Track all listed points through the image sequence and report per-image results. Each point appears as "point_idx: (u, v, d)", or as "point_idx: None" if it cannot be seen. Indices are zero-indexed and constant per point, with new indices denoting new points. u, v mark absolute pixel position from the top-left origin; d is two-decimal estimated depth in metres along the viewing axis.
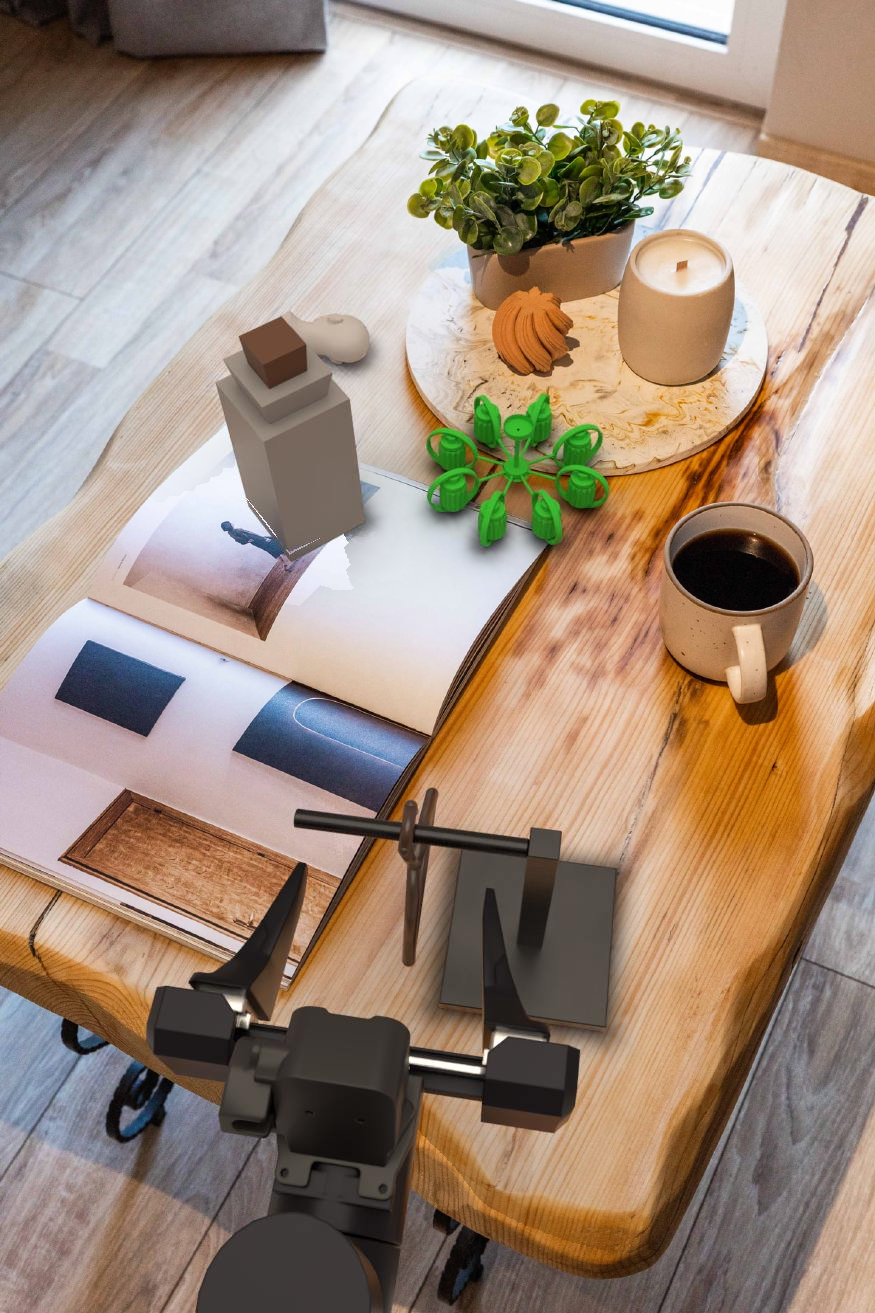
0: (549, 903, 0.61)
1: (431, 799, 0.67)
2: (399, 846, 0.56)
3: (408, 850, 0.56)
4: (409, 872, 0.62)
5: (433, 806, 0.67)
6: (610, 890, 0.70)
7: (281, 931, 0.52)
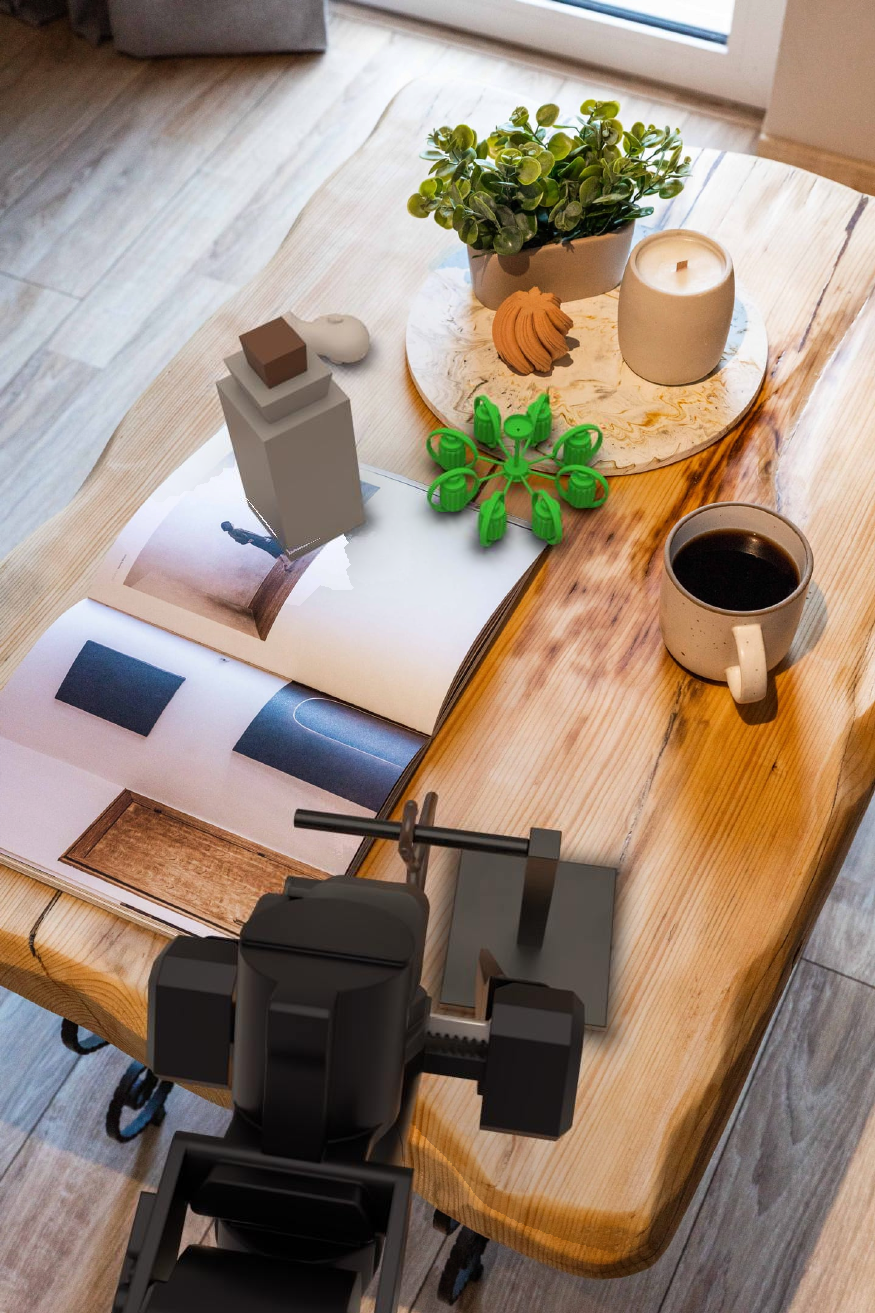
0: (549, 903, 0.61)
1: (431, 803, 0.67)
2: (399, 846, 0.56)
3: (408, 850, 0.56)
4: (409, 874, 0.62)
5: (432, 809, 0.67)
6: (610, 890, 0.70)
7: None
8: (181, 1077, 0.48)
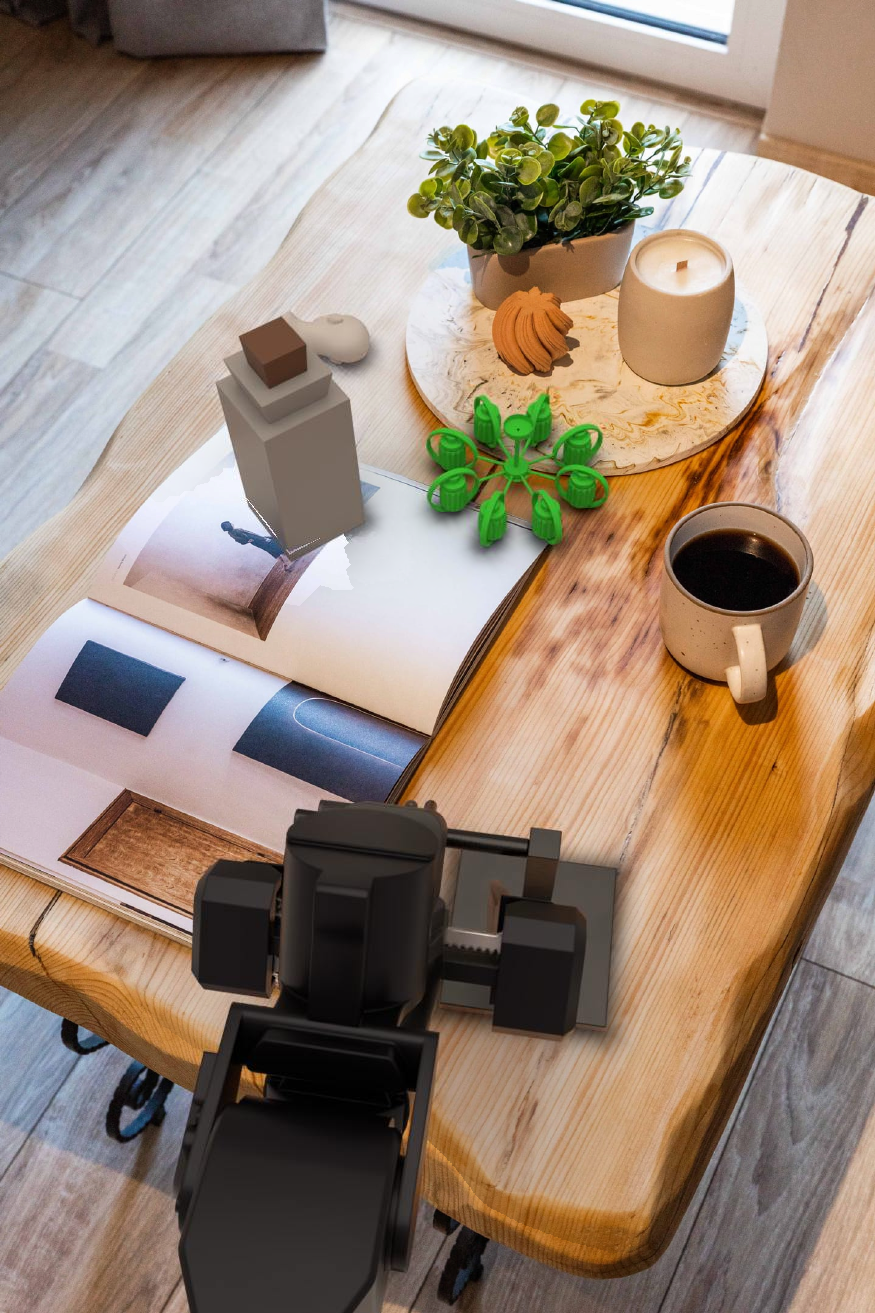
0: None
1: None
2: None
3: None
4: None
5: None
6: (610, 890, 0.70)
7: None
8: (223, 985, 0.53)
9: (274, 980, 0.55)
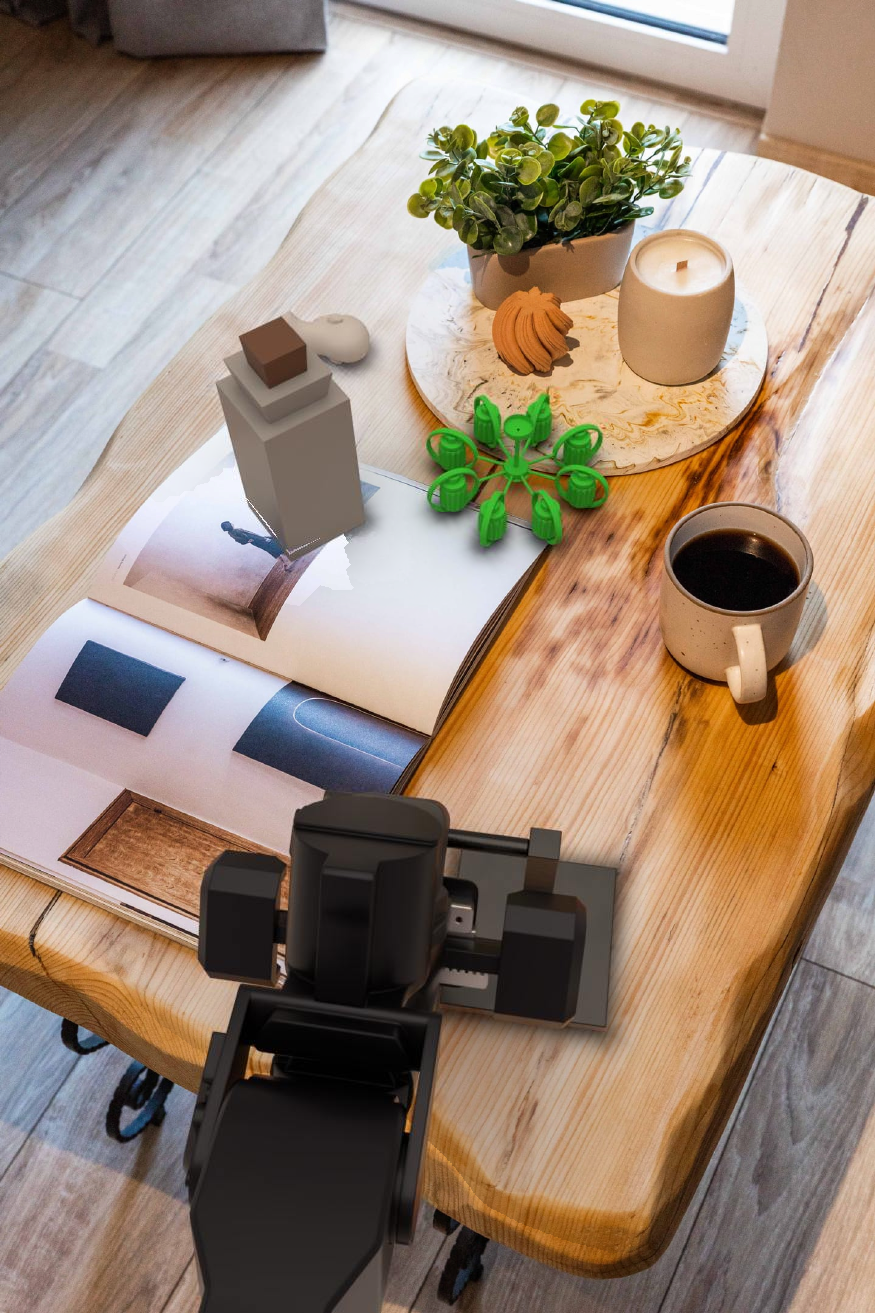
0: None
1: None
2: None
3: None
4: None
5: None
6: (610, 890, 0.70)
7: None
8: (229, 973, 0.54)
9: (279, 969, 0.56)
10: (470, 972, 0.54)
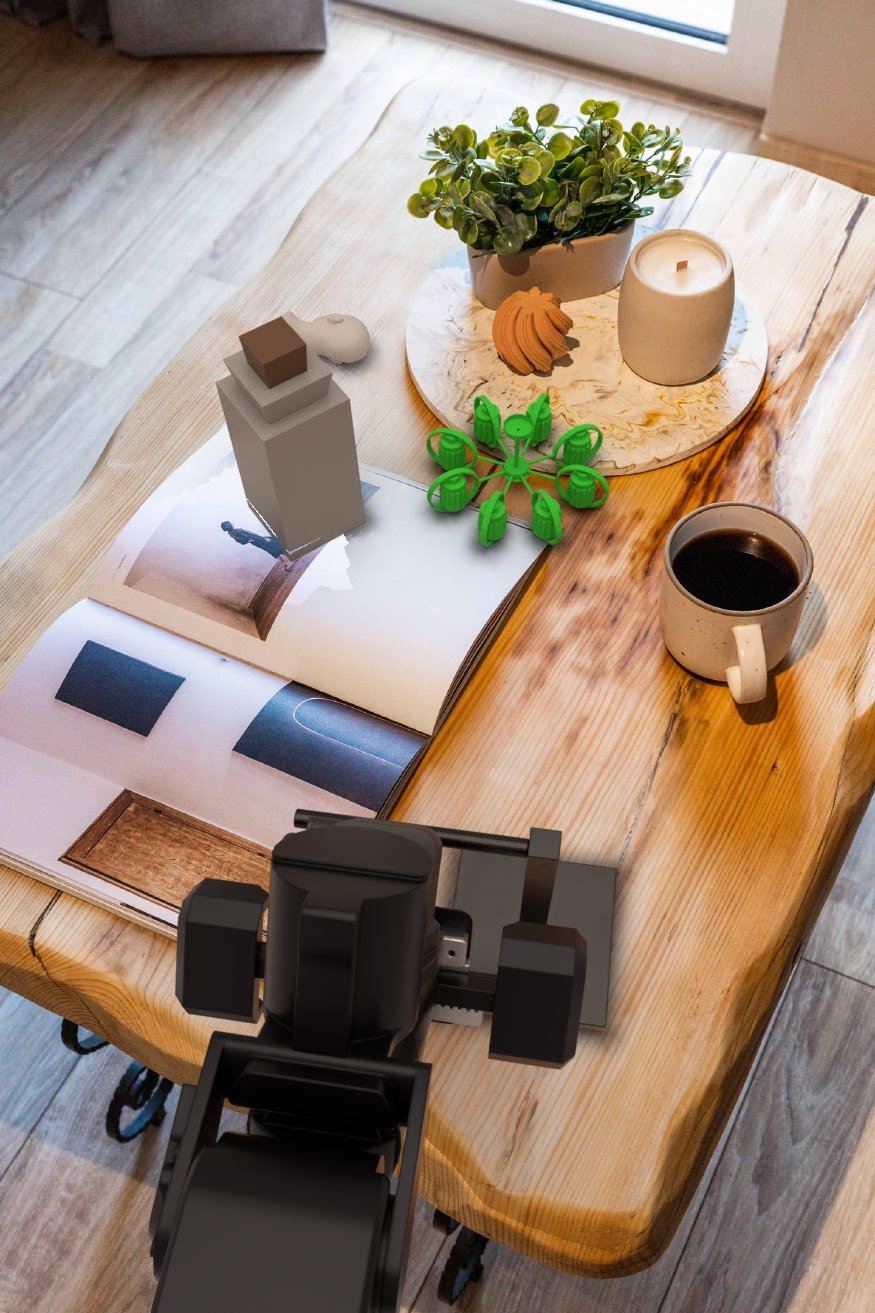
0: (549, 903, 0.61)
1: None
2: None
3: None
4: None
5: None
6: (610, 890, 0.70)
7: None
8: (208, 1009, 0.51)
9: (262, 1004, 0.53)
10: (463, 1009, 0.51)
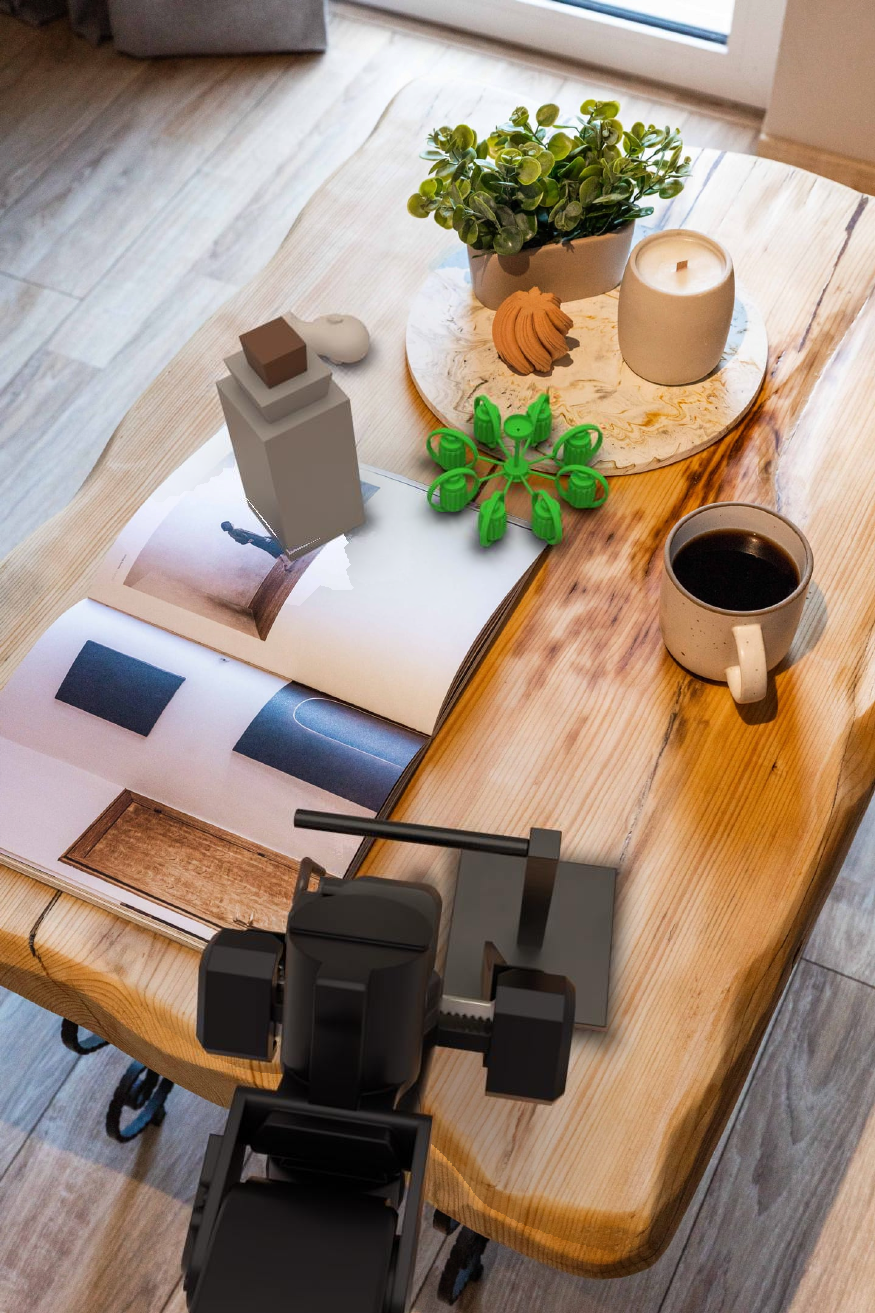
0: (549, 903, 0.61)
1: None
2: None
3: None
4: None
5: None
6: (610, 890, 0.70)
7: None
8: (227, 1050, 0.55)
9: (276, 1044, 0.57)
10: None
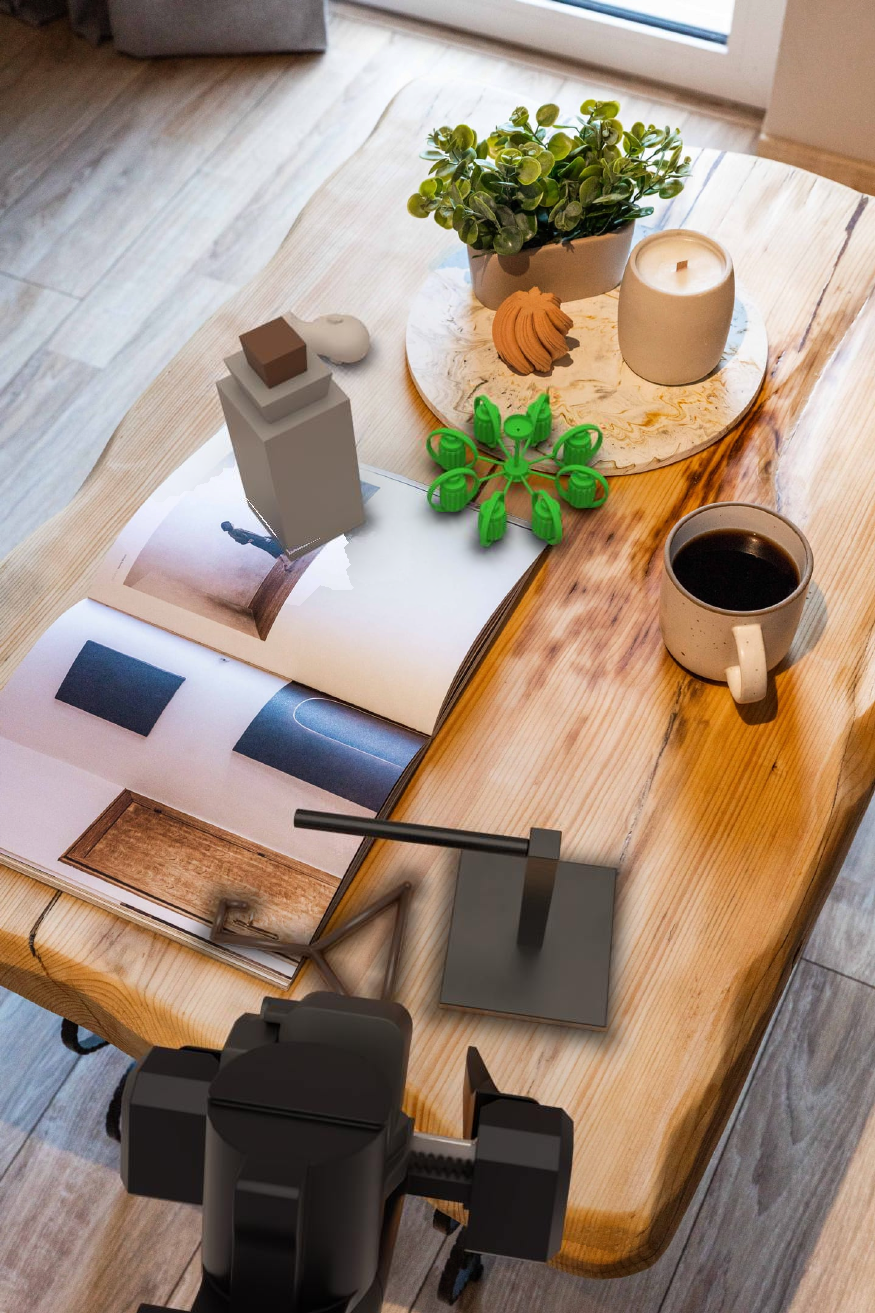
0: (549, 903, 0.61)
1: (389, 892, 0.71)
2: None
3: (210, 935, 0.70)
4: (312, 959, 0.69)
5: (382, 897, 0.70)
6: (610, 890, 0.70)
7: None
8: (156, 1196, 0.46)
9: None
10: None
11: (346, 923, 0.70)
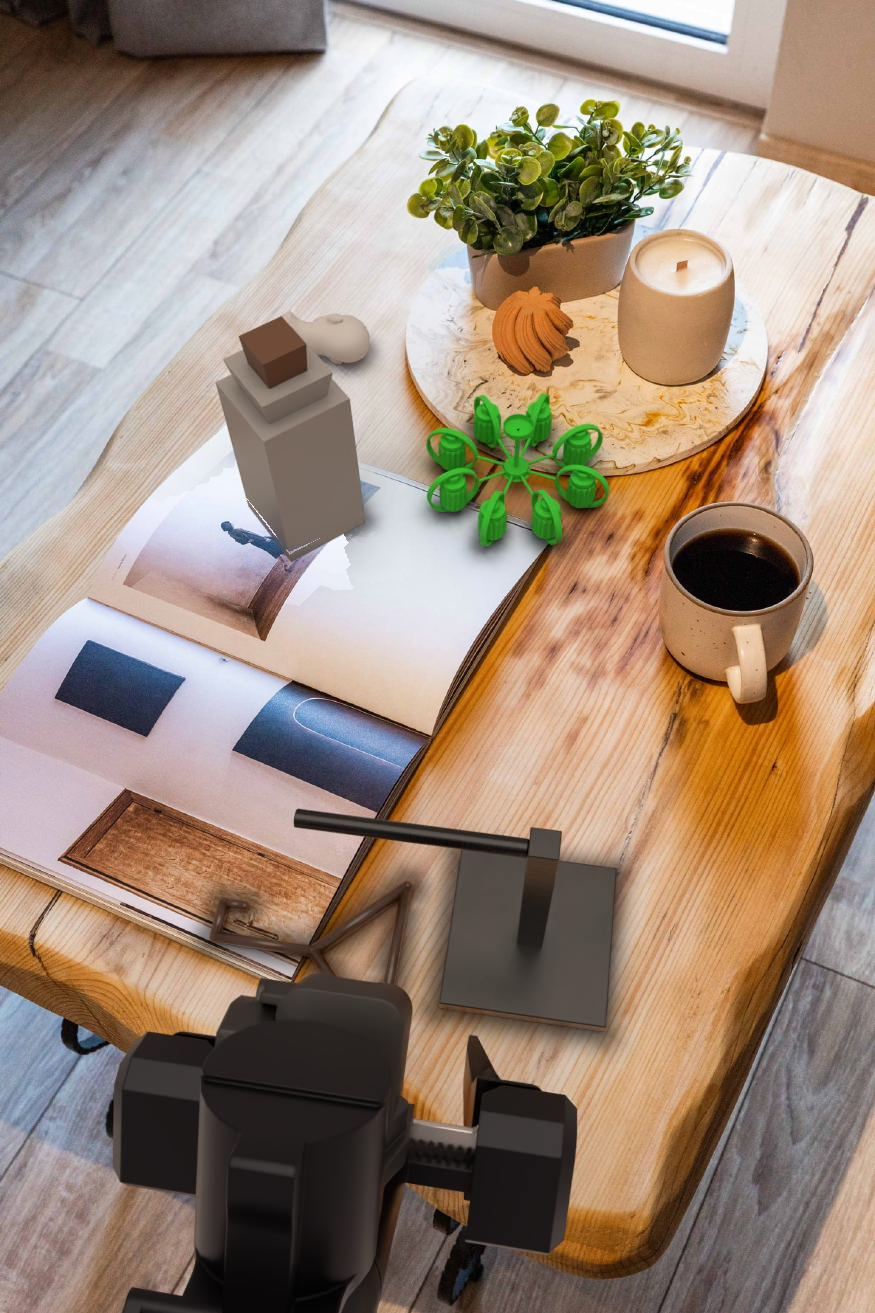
0: (549, 903, 0.61)
1: (389, 892, 0.71)
2: None
3: (210, 935, 0.70)
4: (312, 959, 0.69)
5: (382, 897, 0.70)
6: (610, 890, 0.70)
7: None
8: (149, 1186, 0.45)
9: None
10: None
11: (346, 923, 0.70)
